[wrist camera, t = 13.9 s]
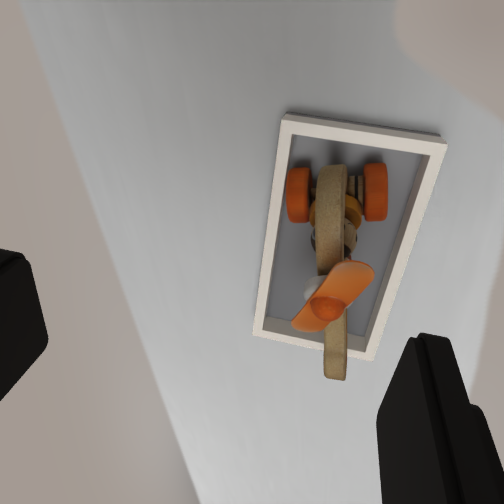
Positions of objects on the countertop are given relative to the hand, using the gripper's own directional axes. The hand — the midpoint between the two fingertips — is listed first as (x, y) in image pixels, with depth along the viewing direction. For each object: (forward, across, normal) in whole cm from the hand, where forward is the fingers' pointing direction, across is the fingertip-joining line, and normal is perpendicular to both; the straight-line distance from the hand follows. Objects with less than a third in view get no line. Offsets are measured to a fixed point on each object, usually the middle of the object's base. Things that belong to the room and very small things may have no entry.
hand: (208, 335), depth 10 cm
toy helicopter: (+28, -5, +12) cm, 31 cm away
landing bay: (+29, -5, +13) cm, 32 cm away
